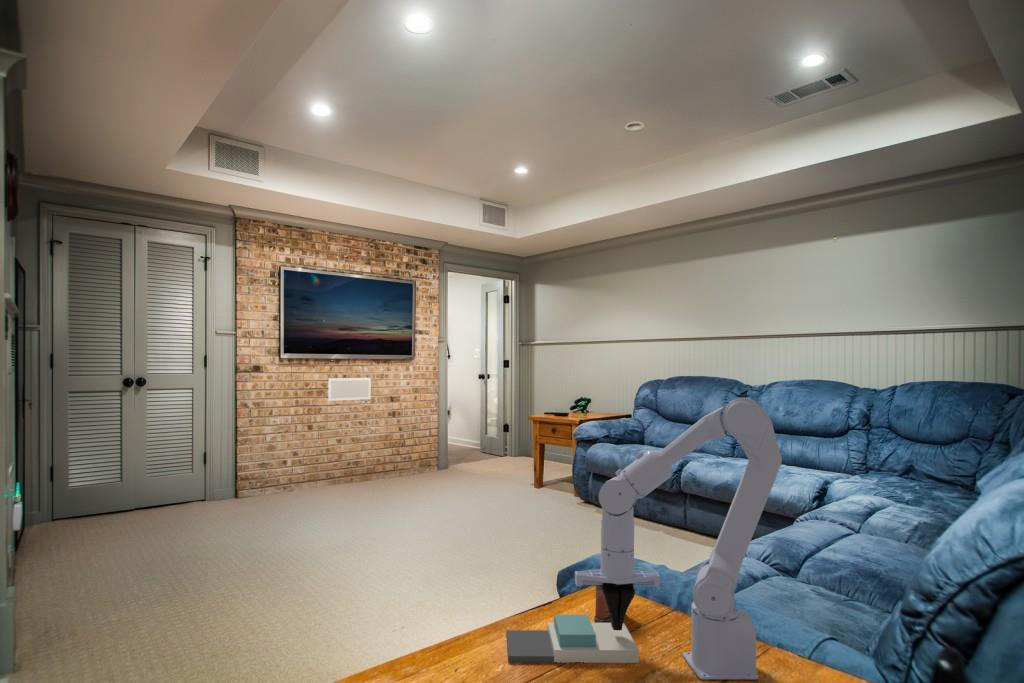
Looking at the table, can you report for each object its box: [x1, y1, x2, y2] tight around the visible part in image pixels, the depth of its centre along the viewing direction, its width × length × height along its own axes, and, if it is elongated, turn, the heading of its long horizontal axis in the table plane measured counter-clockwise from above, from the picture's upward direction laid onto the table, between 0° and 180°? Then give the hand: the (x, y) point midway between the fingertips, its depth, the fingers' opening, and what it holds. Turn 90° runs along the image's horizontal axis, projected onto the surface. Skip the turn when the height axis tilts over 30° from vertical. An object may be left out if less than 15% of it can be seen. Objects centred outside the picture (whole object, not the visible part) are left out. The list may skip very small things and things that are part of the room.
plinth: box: [546, 621, 640, 664], centre depth 97 cm, size 14×10×2 cm
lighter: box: [593, 585, 627, 623], centre depth 110 cm, size 8×3×10 cm, turn 133°
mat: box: [505, 629, 554, 664], centre depth 96 cm, size 8×10×1 cm
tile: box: [553, 614, 596, 647], centre depth 97 cm, size 6×8×2 cm
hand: (616, 627), depth 97 cm, fingers closed
